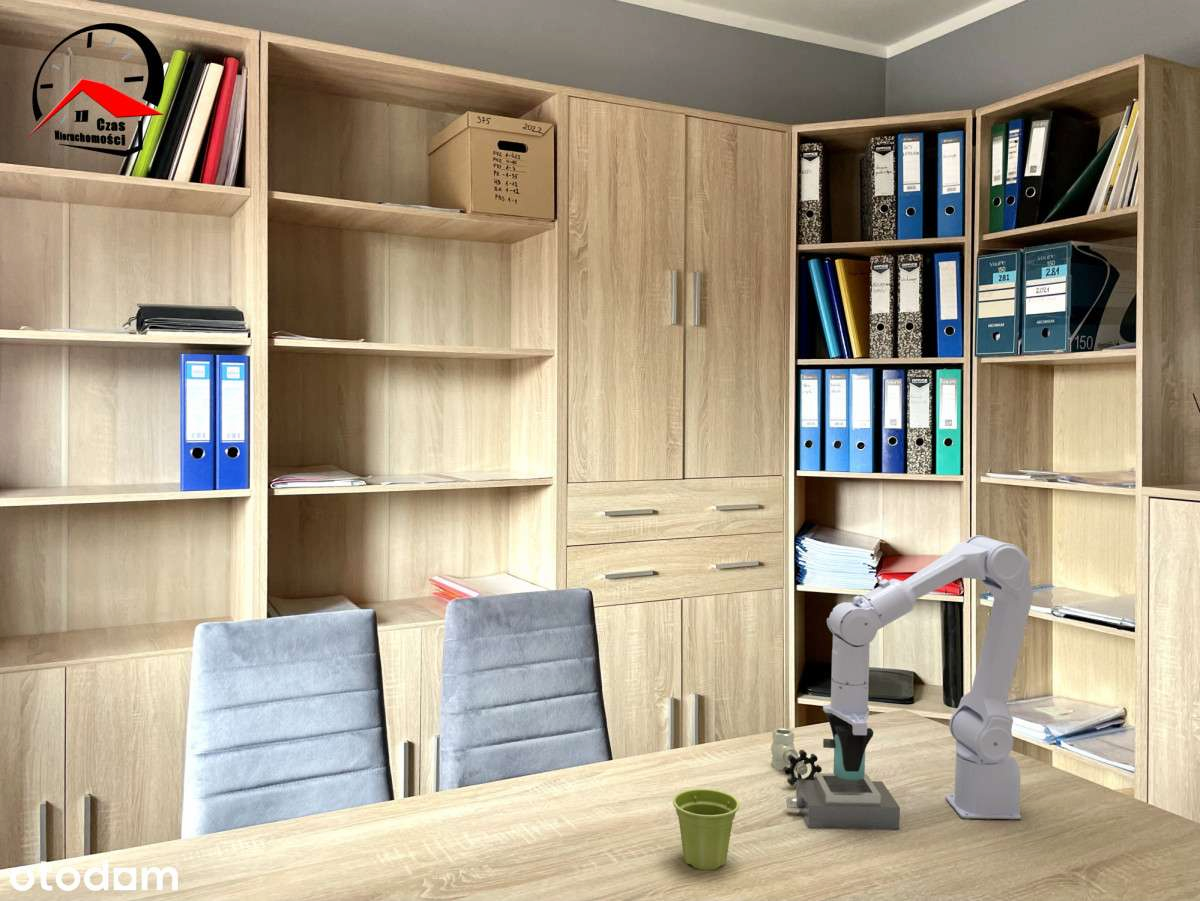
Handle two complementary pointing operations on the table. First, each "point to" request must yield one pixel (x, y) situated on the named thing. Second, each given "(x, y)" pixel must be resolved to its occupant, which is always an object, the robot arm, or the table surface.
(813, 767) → the valve
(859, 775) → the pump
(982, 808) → the robot arm
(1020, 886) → the table surface
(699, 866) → the plant pot
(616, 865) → the table surface
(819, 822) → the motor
